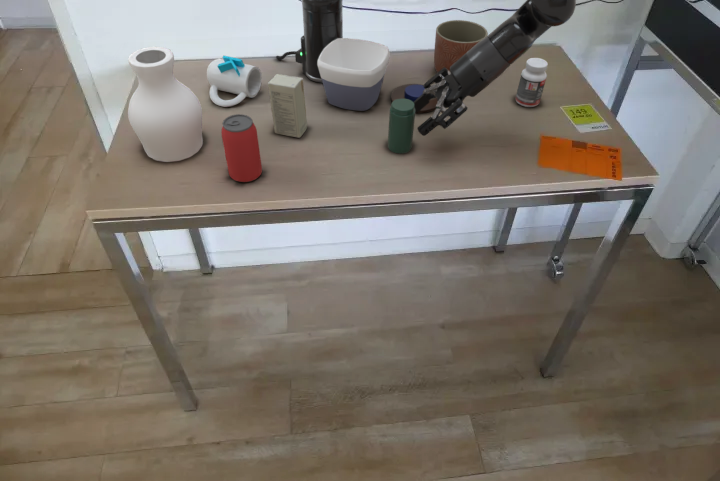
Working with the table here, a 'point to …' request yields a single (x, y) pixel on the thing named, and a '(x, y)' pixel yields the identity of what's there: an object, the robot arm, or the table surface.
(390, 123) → the jar
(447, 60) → the planter
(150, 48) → the vase
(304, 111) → the cosmetic box
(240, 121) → the beer can
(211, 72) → the mug
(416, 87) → the lid
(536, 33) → the robot arm
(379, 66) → the bowl
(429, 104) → the trivet
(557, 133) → the table surface
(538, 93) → the pill bottle
